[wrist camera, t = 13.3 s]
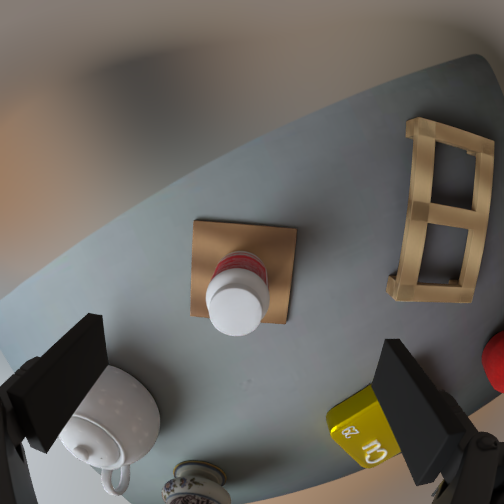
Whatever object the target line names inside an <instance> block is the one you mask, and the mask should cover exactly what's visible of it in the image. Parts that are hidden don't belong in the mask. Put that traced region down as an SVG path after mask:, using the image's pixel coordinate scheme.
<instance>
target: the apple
mask: <svg viewBox="0 0 504 504" xmlns="http://www.w3.org/2000/svg"><path fill="white" fill-rule="evenodd" d="M482 364H483V367H484V370H485V373H486V375H487V377H488V379H489V381H490V383H491V385H492V386H493V388H494V389H495V390H497V391H499V392H501V393H504V331H501V332H499V333H497V334H496V335H495V336H493V337H492V338H491V339H490V341H489V342H488V343H487V345H486V346H485V348H484V350H483V354H482Z"/></svg>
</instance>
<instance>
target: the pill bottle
mask: <svg viewBox="0 0 504 504" xmlns="http://www.w3.org/2000/svg"><path fill="white" fill-rule="evenodd" d="M269 302H270V294H269V286H268V275H267V270H266V267H265V265H264V263H263V262H262V261H261V260H260V258H258V257H257V256H256V255H254V254H252V253H250V252H246V251H235V252H232V253H229V254H227V255H226V256H224V257H223V258H222V259H221V260H220V262H219V263H218V265H217V267H216V269H215V271H214V274H213V276H212V278H211V281H210V283H209V285H208V288H207V292H206V305H207V308H208V310H209V316H210V319H211V321H212V323H213V325H214V326H215V327H216V328H217V329H218V330H219V331H221V332H222V333H224V334H227V335H231V336H243V335H246V334H249V333H250V332H252V331H253V330H255V329H256V328H257V326H258V325H259V323H260V321H261V320H262V319H263V317H264V316H265V315H266V313H267V311H268V308H269Z"/></svg>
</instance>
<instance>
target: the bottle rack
mask: <svg viewBox="0 0 504 504" xmlns="http://www.w3.org/2000/svg"><path fill="white" fill-rule="evenodd" d="M406 138H410V139H413V156H412V169H411V181H410V191H409V200H408V208H407V216H406V223H405V230H404V237H403V243H402V249H401V255H400V261H399V266H398V272H397V276H390V275H389V278H388V283H387V288H386V292H387V293H388V294H389V295H390V296H391V297H392V298H393V299H394V300H395V301H415V302H453V303H471V302H472V298H473V294H474V290H475V286H476V282H477V278H478V273H479V269H480V264H481V259H482V254H483V249H484V243H485V237H486V231H487V224H488V217H489V210H490V201H491V191H492V180H493V165H494V141H492V140H489V139H487V138H484V137H481V136H478V135H476V134H473V133H470V132H467V131H464V130H461V129H458V128H455V127H452V126H448V125H445V124H442V123H439V122H435V121H432V120H428V119H425V118H421V117H417V118H414V119H411V120H408V121H406ZM435 141H437V142H440V143H444V144H447V145H451V146H454V147H458V148H461V149H464V150H467V154H469V155H473V156H476V167H475V180H474V191H473V201H472V209H471V210H467V209H462V208H457V207H452V206H447V205H441V204H436V203H430V200H431V191H432V181H433V169H434V155H435ZM427 223H433V224H440V225H446V226H453V227H459V228H465V229H469V231H468V237H467V243H466V248H465V254H464V259H463V264H462V269H461V273H460V278H459V280H451V279H450V280H449V284H439V283H422V282H417V280H418V275H419V270H420V265H421V260H422V254H423V249H424V243H425V237H426V230H427Z"/></svg>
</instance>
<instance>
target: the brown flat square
mask: <svg viewBox="0 0 504 504" xmlns="http://www.w3.org/2000/svg"><path fill="white" fill-rule="evenodd" d="M296 237H297V229H296V228H286V227H275V226H263V225H251V224H239V223H227V222H214V221H200V220H194V222H193V242H192V268H191V308H190V316H196V317H205V318H210V316H209V310H208V308H207V305H206V292H207V288H208V285H209V283H210V281H211V278H212V276H213V274H214V271H215V269H216V267H217V265H218V263H219V262H220V260H221V259H222V258H223V257H224V256H226V255H227V254H229V253H232V252H235V251H246V252H250V253H252V254H254V255H256V256H257V257H258V258H260V260H261V261H262V262H263V263H264V265H265V267H266V270H267V275H268V286H269V294H270V302H269V308H268V311H267V313H266V315H265V316H264V317H263V319H262V320H261V321H260V322H261V323H275V324H286V319H287V311H288V304H289V296H290V288H291V280H292V272H293V263H294V255H295V246H296Z"/></svg>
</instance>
